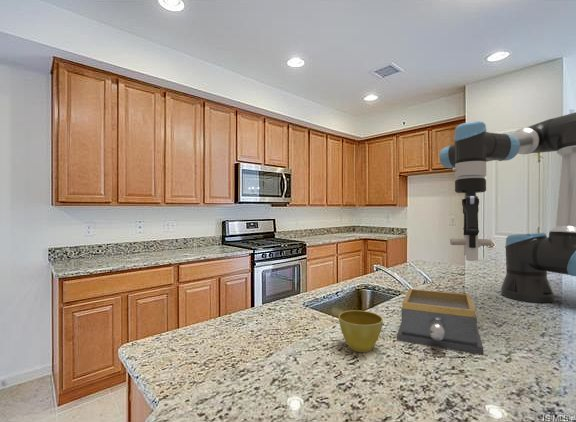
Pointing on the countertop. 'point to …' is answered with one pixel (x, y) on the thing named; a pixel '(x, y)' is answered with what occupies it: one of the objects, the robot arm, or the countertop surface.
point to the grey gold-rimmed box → (440, 320)
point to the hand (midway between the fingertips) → (470, 257)
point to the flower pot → (360, 329)
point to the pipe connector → (463, 242)
